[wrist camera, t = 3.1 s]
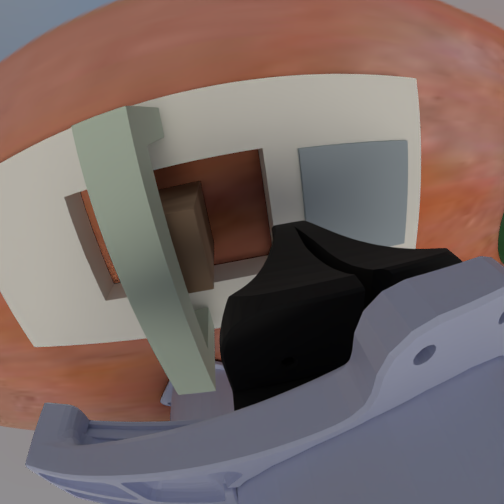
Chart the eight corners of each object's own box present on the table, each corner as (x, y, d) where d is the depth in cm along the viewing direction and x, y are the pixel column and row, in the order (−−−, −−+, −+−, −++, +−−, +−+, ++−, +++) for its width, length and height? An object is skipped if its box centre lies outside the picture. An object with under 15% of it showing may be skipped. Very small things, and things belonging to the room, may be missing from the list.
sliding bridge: (158, 107, 12) (125, 105, 7) (214, 325, 18) (215, 390, 13) (119, 119, 12) (71, 126, 7) (183, 330, 18) (178, 394, 13)
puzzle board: (397, 79, 14) (419, 78, 12) (396, 270, 20) (412, 286, 18) (-24, 181, 13) (-43, 191, 11) (43, 331, 20) (33, 349, 18)
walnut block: (200, 180, 16) (193, 208, 12) (214, 242, 18) (213, 288, 13) (134, 195, 16) (106, 228, 11) (152, 254, 18) (135, 302, 13)
